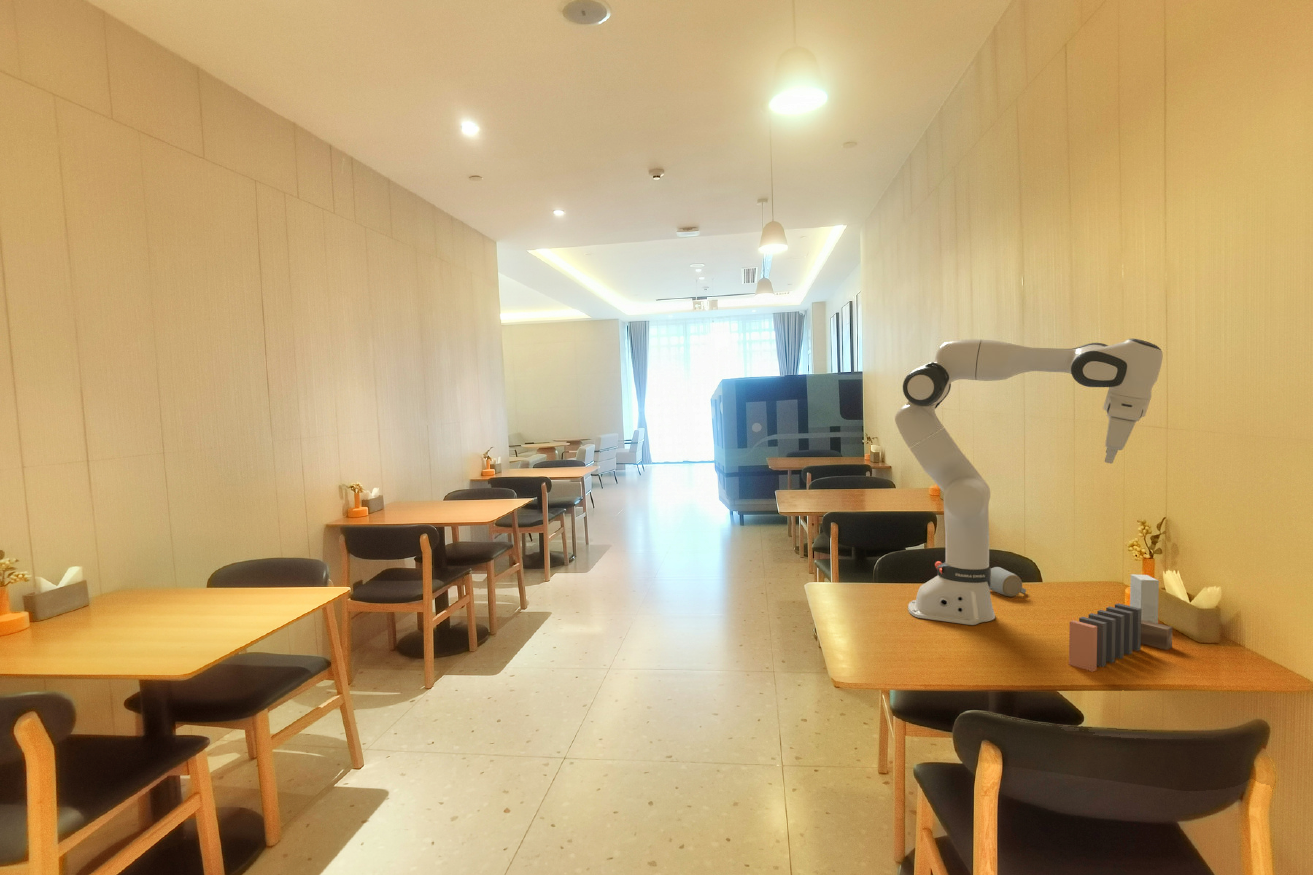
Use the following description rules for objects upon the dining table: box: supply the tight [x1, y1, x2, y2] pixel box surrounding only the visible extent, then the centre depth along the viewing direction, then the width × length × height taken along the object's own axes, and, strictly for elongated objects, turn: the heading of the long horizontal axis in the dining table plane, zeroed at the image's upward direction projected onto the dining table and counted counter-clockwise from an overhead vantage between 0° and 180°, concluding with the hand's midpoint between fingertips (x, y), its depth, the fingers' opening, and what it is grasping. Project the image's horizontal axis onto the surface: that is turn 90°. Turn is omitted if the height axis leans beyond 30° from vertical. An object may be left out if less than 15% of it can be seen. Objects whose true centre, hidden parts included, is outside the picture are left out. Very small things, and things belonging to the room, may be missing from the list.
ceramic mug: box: [990, 566, 1027, 598], centre depth 202 cm, size 11×8×8 cm
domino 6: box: [1114, 603, 1142, 652], centre depth 158 cm, size 2×5×10 cm, turn 31°
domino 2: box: [1078, 616, 1107, 668], centre depth 149 cm, size 2×5×10 cm, turn 31°
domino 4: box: [1096, 609, 1125, 660], centre depth 154 cm, size 2×5×10 cm, turn 31°
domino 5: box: [1105, 606, 1133, 656], centre depth 156 cm, size 2×5×10 cm, turn 31°
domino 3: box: [1087, 613, 1116, 664], centre depth 151 cm, size 2×5×10 cm, turn 31°
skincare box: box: [1129, 574, 1160, 624], centre depth 175 cm, size 6×4×12 cm
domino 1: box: [1068, 619, 1098, 673], centre depth 147 cm, size 2×5×10 cm, turn 31°
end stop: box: [1141, 620, 1173, 651], centre depth 162 cm, size 3×12×5 cm, turn 31°
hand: (1109, 457), depth 166 cm, fingers open, 8 cm apart
